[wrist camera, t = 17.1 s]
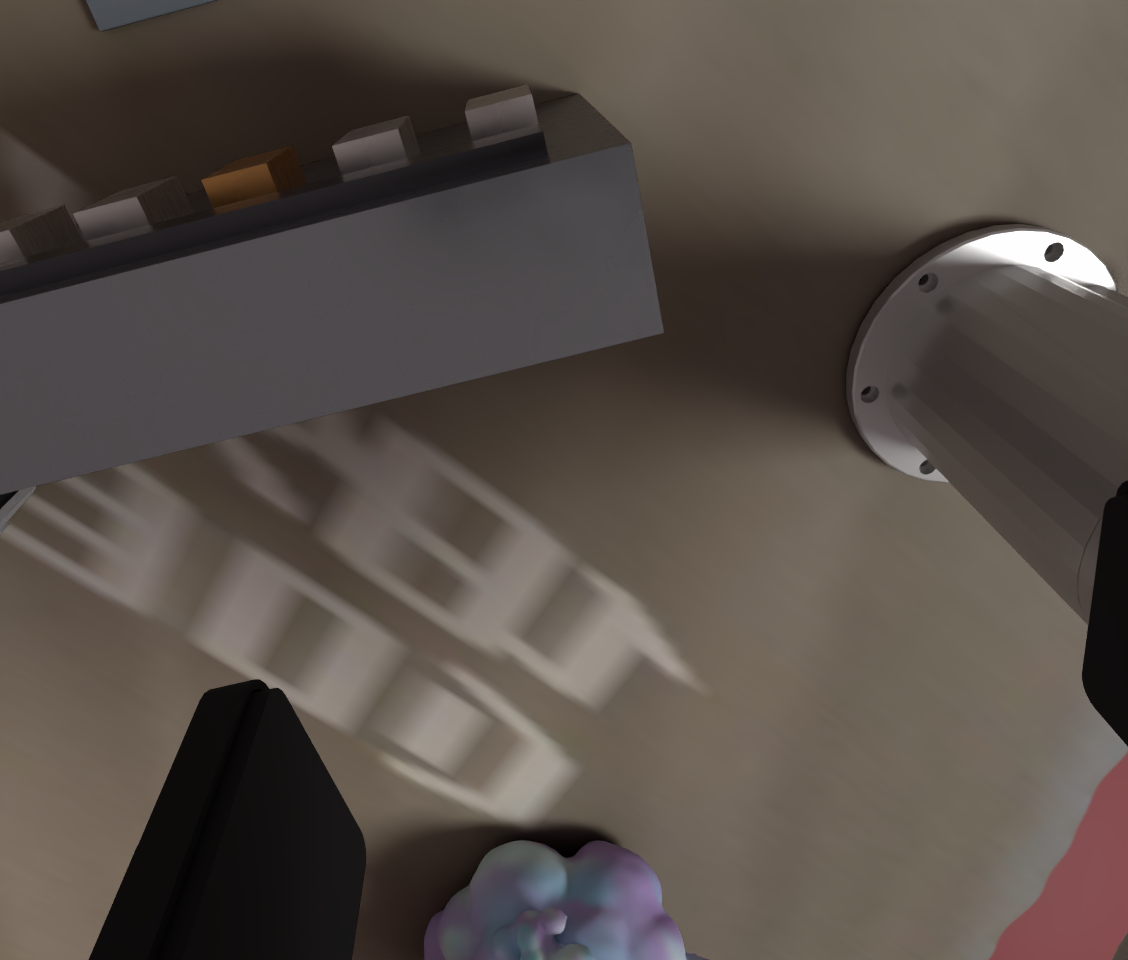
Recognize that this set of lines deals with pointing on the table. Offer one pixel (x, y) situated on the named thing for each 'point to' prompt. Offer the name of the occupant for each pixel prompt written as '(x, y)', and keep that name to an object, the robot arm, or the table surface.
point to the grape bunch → (557, 909)
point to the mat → (134, 10)
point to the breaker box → (317, 284)
